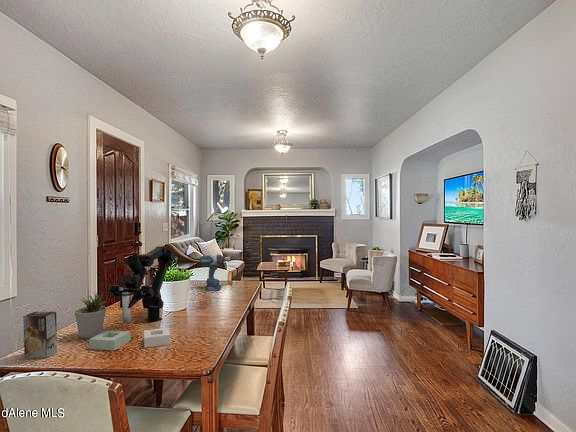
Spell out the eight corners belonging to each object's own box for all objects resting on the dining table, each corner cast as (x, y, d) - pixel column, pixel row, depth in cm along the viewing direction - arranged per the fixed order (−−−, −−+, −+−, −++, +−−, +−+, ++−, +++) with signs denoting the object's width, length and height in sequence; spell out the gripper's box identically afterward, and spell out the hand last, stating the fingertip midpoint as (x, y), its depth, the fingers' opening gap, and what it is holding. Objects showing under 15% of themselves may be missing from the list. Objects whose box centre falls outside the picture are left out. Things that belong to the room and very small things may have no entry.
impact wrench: (230, 291, 246) (230, 255, 246) (198, 291, 246) (198, 255, 246) (232, 288, 254) (232, 253, 254) (201, 288, 254) (201, 253, 254)
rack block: (107, 339, 154) (107, 330, 154) (130, 340, 152) (130, 331, 152) (89, 349, 143) (89, 339, 143) (114, 350, 141) (114, 340, 141)
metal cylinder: (122, 321, 157) (122, 292, 157) (131, 320, 158) (130, 291, 158) (122, 323, 154) (121, 293, 153) (131, 322, 155) (130, 293, 155)
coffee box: (58, 351, 140) (57, 311, 140) (47, 358, 134) (46, 316, 134) (34, 351, 140) (34, 311, 140) (22, 358, 134) (22, 316, 134)
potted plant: (71, 342, 150) (71, 295, 149) (76, 332, 162) (76, 289, 162) (105, 338, 155) (104, 292, 154) (107, 329, 167) (107, 286, 167)
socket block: (144, 339, 153) (144, 330, 153) (168, 336, 157) (168, 327, 157) (144, 347, 144) (144, 338, 144) (170, 344, 148) (170, 334, 148)
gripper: (110, 267, 160) (96, 297, 149) (150, 267, 159) (138, 298, 148) (120, 281, 168) (107, 311, 157) (158, 281, 167) (147, 311, 156)
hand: (124, 307), depth 154 cm, fingers closed on metal cylinder, 3 cm apart
